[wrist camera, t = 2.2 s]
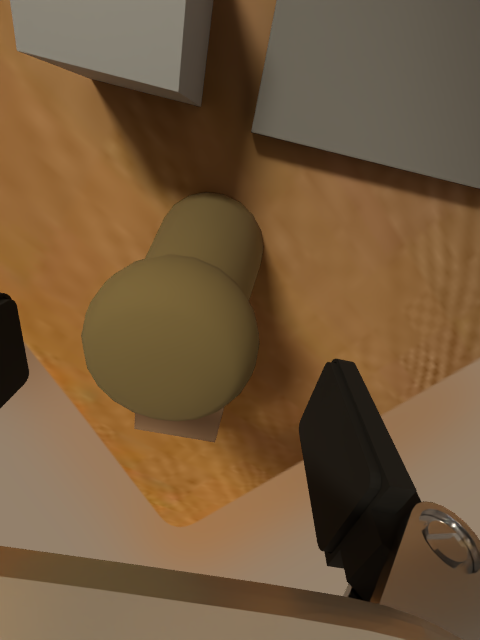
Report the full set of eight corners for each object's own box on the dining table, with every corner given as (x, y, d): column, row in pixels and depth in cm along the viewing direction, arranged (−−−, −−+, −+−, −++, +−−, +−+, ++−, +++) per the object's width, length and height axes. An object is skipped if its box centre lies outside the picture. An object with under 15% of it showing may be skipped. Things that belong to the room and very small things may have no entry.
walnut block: (161, 318, 20) (136, 367, 16) (235, 333, 20) (230, 384, 16) (157, 373, 22) (134, 428, 18) (222, 385, 23) (215, 442, 19)
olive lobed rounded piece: (284, 257, 17) (321, 396, 8) (207, 312, 19) (163, 474, 10) (216, 165, 15) (154, 207, 6) (137, 239, 17) (-7, 360, 8)
